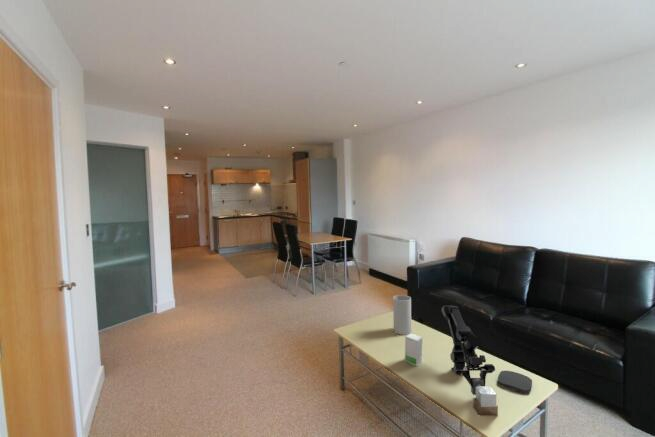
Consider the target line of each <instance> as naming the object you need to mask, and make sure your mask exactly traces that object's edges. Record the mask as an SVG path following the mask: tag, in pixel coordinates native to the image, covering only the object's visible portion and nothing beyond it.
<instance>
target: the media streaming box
mask: <svg viewBox="0 0 655 437" xmlns="http://www.w3.org/2000/svg"><path fill="white" fill-rule="evenodd" d="M497 384H498V386H499V387H502V388H504V389H507V390H510V391H513V392H516V393H520V394H524V395H525V394H527V395H528V394H530V393H531V391H532V387H533V380H532V379H531V378H530V377H529V376H527V375H525V374H521V373H519V372H515V371H511V370H502V371H500V372H499V374H498V377H497Z"/></svg>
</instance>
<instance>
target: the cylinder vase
mask: <svg viewBox="0 0 655 437" xmlns="http://www.w3.org/2000/svg"><path fill="white" fill-rule="evenodd" d="M392 298H393V299H392V300H393V301H392V307H393V310H392V311H393V315H392V316H393V332H394V333H395V334H397V335H401V336H403V335H405V336H407V335H408V334H410V333H411V334H412V297H411V296H409V295H405V294H397V295H393V297H392Z"/></svg>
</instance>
